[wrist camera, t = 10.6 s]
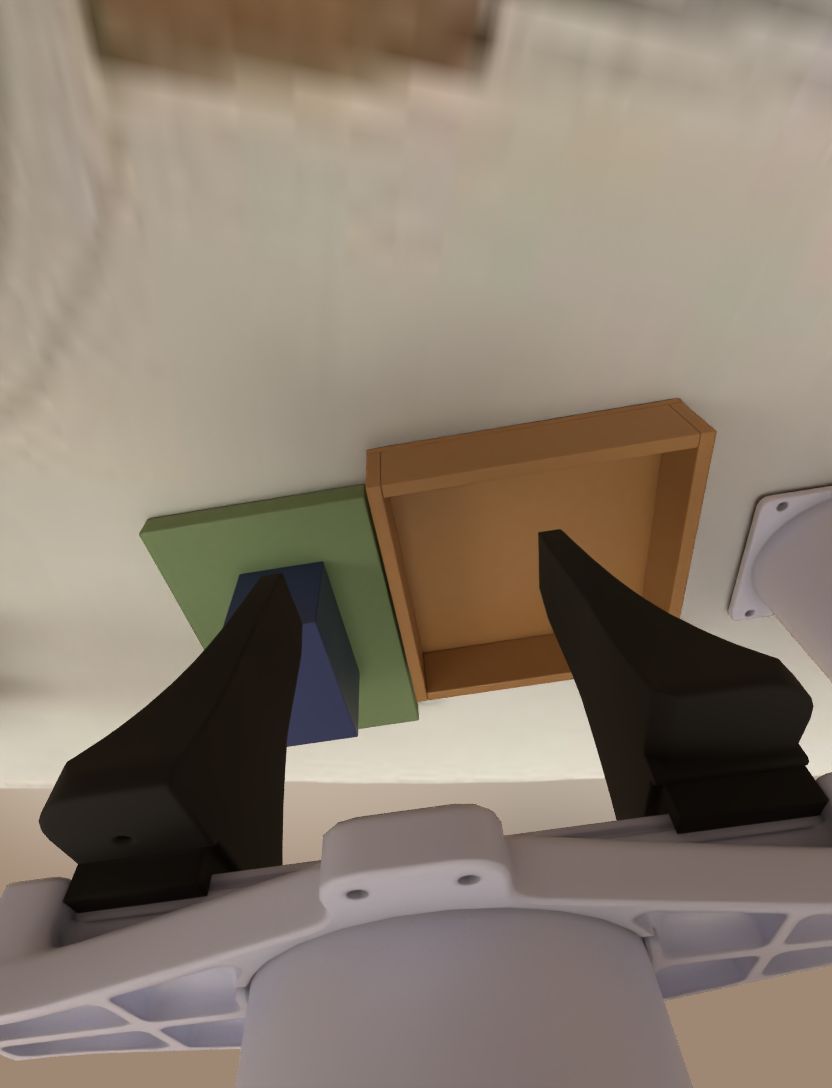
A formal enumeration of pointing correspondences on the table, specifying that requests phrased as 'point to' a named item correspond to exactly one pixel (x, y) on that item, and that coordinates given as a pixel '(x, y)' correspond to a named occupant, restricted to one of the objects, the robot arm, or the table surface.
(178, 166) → the table surface
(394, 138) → the table surface
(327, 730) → the navy blue rectangular prism
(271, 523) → the flat green rectangular board
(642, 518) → the open box
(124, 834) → the robot arm
